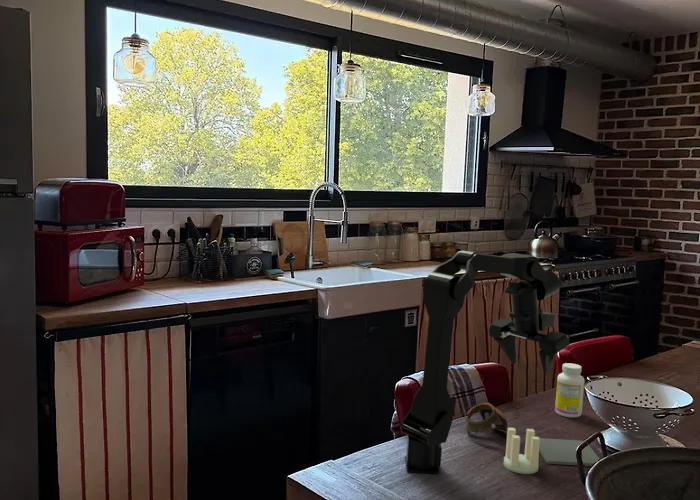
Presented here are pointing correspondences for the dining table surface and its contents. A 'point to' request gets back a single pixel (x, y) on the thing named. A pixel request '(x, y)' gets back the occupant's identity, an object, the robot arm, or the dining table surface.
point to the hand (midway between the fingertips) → (529, 368)
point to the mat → (565, 452)
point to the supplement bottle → (570, 391)
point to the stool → (520, 461)
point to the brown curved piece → (486, 419)
